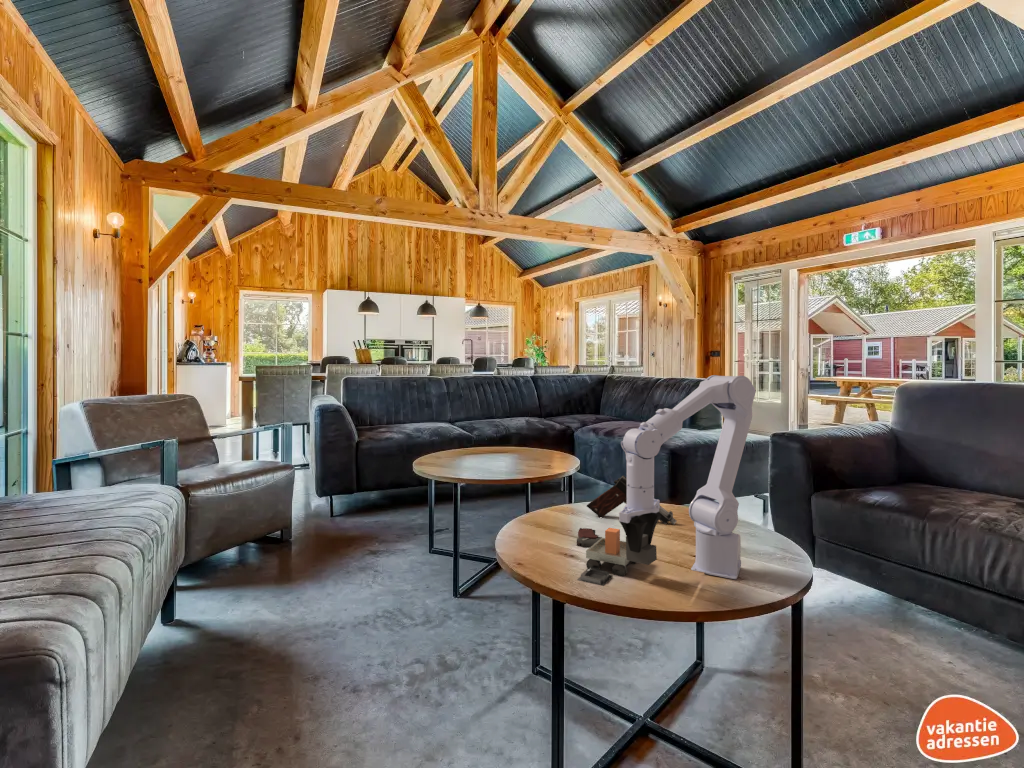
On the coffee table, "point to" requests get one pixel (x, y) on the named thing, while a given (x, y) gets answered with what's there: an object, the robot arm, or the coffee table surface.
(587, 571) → the socket
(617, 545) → the orange rectangular block
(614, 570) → the trolley
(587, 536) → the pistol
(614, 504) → the handgun
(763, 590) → the coffee table surface
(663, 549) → the coffee table surface
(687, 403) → the robot arm
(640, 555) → the block
